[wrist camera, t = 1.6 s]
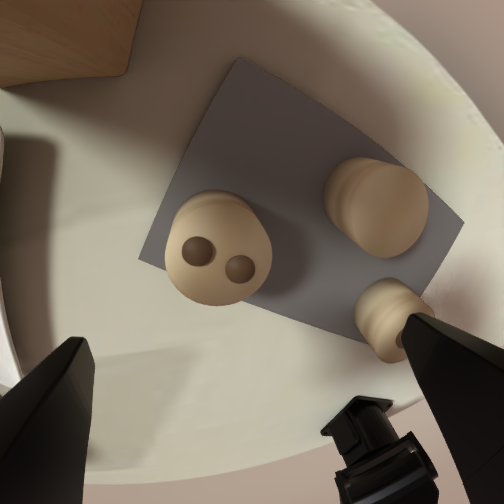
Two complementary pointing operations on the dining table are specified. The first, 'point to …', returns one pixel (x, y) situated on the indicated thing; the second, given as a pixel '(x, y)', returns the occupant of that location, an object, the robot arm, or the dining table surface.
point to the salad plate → (7, 329)
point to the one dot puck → (387, 316)
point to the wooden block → (65, 39)
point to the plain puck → (377, 205)
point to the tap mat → (295, 199)
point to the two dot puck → (217, 249)
